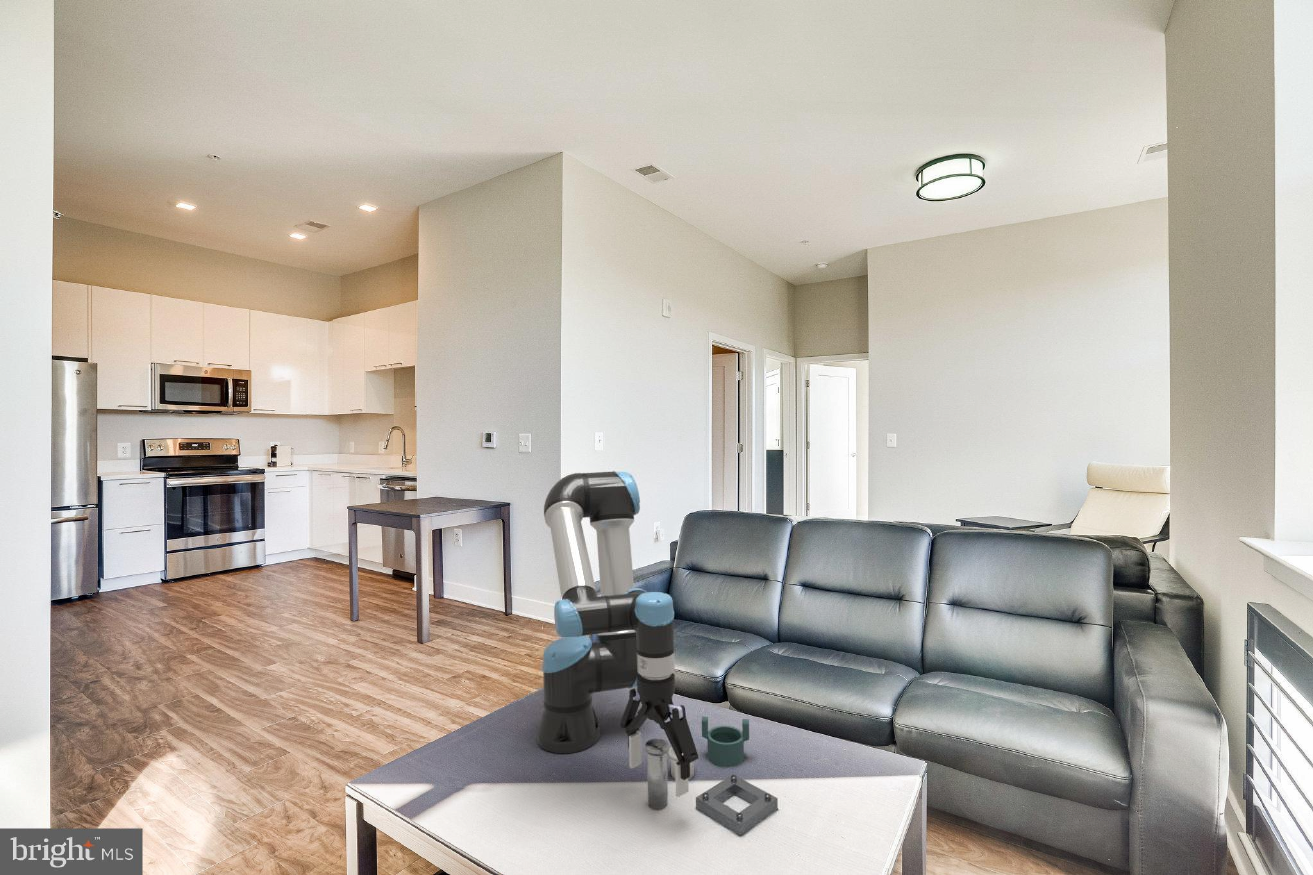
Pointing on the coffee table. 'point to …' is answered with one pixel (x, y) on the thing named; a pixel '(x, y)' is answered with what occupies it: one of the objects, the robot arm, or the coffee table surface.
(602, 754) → the coffee table surface
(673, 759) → the cup
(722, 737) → the green cup holder
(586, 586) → the robot arm
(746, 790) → the socket
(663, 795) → the grey cylinder
